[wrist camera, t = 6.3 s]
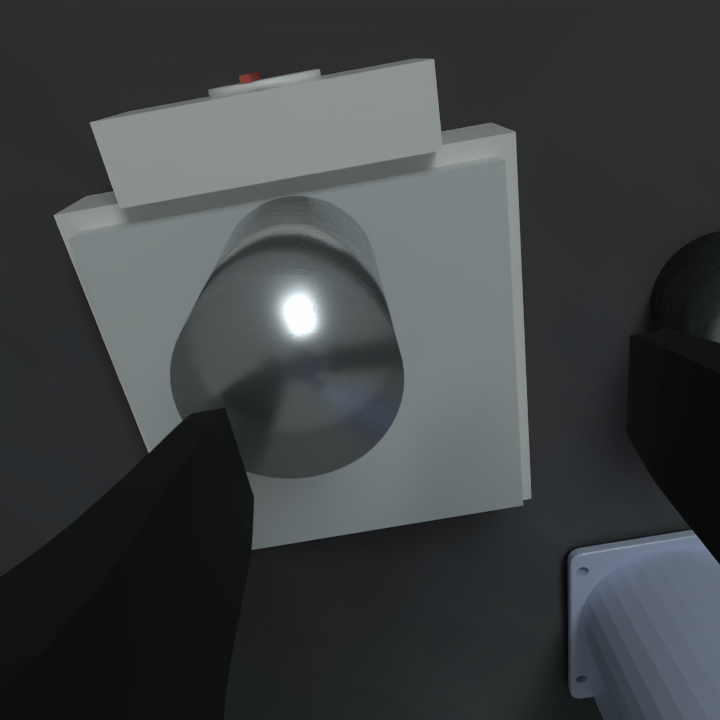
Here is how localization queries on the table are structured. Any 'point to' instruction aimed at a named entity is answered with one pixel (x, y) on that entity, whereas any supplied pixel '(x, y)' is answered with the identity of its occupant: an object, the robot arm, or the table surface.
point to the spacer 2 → (690, 290)
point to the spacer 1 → (293, 342)
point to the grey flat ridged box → (393, 257)
